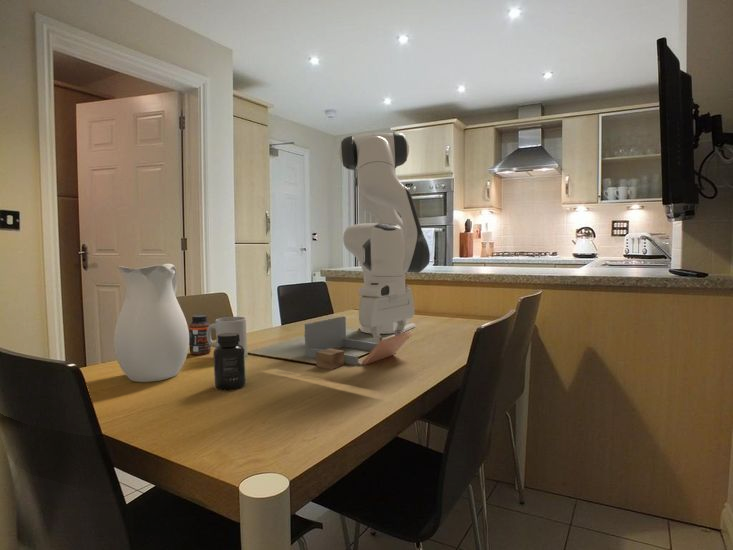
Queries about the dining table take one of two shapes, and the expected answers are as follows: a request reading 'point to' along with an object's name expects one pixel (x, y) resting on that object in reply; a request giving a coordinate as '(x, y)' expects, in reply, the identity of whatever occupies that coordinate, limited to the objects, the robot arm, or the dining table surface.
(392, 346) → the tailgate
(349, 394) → the dining table surface
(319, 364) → the block
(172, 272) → the pitcher
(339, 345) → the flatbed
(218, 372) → the supplement bottle
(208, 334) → the mug
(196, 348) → the supplement bottle
